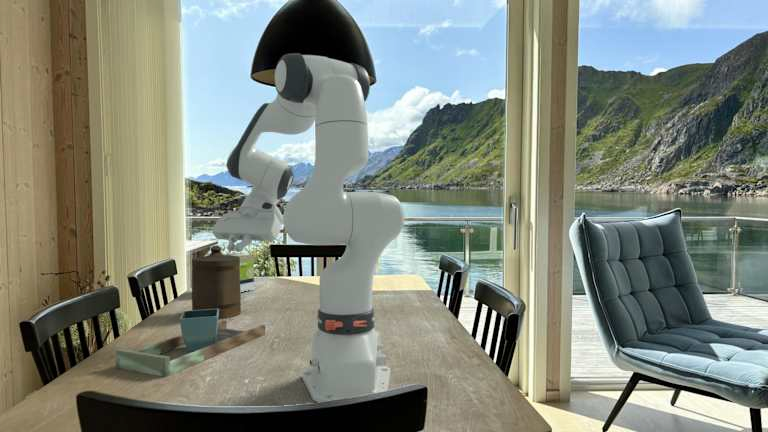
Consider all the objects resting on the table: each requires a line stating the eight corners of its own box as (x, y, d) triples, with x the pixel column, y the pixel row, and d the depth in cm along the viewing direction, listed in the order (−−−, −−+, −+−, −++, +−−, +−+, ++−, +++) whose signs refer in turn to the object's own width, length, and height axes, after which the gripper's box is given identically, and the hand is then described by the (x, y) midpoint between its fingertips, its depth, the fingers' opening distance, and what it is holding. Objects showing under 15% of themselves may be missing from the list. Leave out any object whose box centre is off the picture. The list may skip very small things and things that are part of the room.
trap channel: (223, 329, 151) (222, 315, 150) (265, 334, 145) (265, 320, 145) (116, 368, 118) (115, 350, 118) (165, 376, 112) (165, 358, 112)
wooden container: (238, 307, 179) (237, 242, 178) (243, 317, 165) (242, 247, 164) (191, 311, 174) (190, 244, 173) (192, 321, 160) (191, 249, 159)
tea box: (226, 297, 196) (225, 257, 195) (207, 294, 201) (206, 256, 200) (255, 290, 209) (254, 253, 208) (236, 288, 214) (235, 252, 213)
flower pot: (180, 355, 127) (179, 318, 126) (183, 345, 135) (183, 310, 135) (218, 352, 129) (217, 316, 129) (219, 342, 138) (219, 308, 137)
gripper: (220, 204, 154) (197, 241, 145) (280, 205, 146) (259, 243, 137) (231, 219, 158) (209, 255, 149) (289, 220, 150) (270, 258, 142)
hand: (234, 249), depth 143 cm, fingers closed
